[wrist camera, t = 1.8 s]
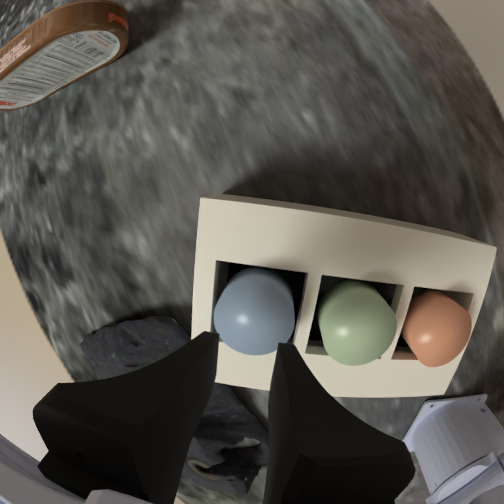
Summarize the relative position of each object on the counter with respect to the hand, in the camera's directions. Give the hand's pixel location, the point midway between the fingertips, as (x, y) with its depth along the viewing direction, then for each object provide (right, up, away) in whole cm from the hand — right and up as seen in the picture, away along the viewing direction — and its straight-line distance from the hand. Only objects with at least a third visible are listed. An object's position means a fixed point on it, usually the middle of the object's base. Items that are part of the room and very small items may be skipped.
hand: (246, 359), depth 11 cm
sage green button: (+6, +1, +6) cm, 8 cm away
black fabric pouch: (-6, -11, +15) cm, 20 cm away
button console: (+6, +2, +10) cm, 12 cm away
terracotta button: (+11, 0, +5) cm, 13 cm away
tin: (-15, +20, +8) cm, 26 cm away
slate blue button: (+1, +1, +6) cm, 6 cm away
